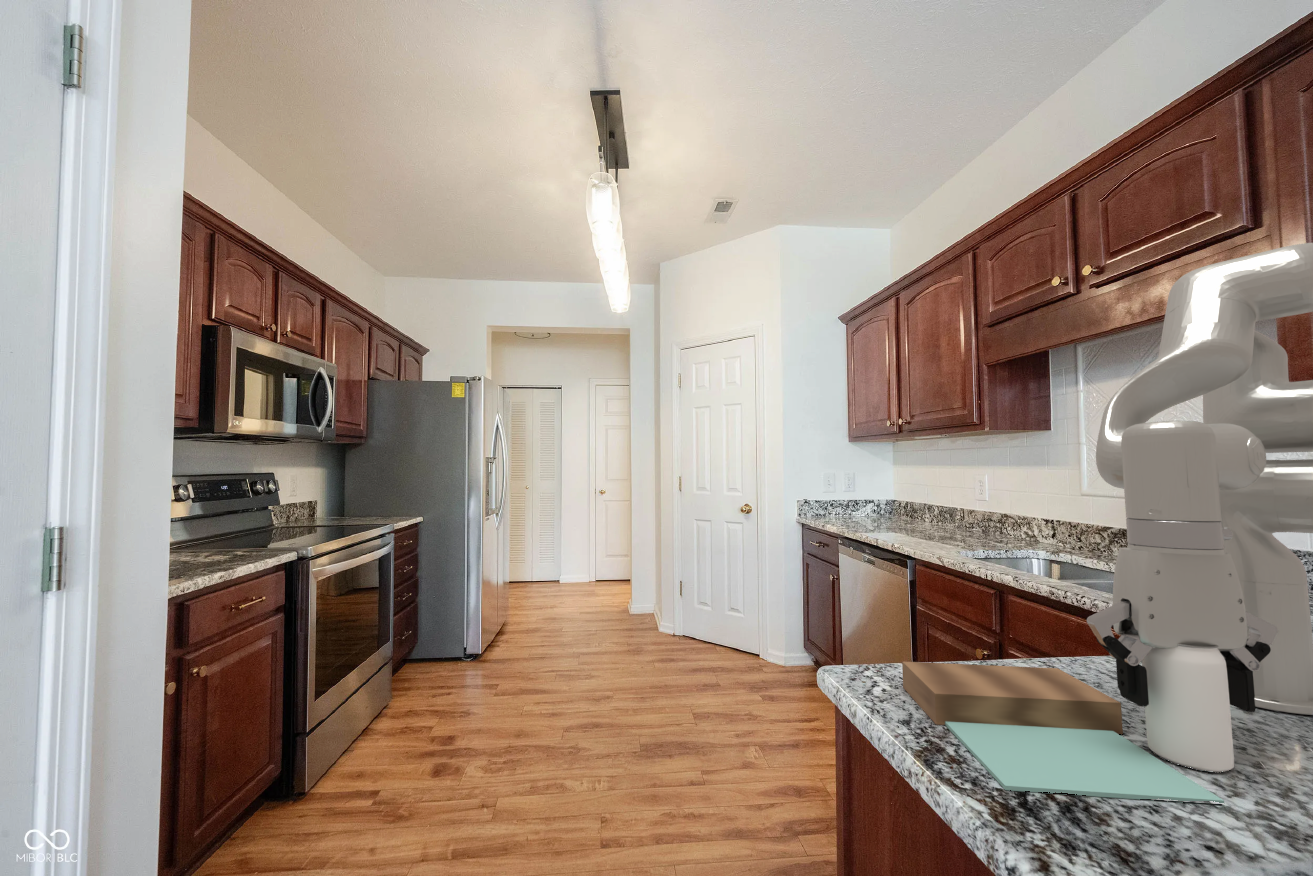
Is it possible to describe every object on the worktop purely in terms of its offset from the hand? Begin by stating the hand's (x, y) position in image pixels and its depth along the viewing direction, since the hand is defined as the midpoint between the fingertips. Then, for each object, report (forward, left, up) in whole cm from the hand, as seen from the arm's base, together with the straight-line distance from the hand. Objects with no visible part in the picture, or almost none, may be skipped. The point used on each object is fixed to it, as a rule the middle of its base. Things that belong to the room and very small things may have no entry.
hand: (1185, 704), depth 57 cm
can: (0, 0, -6) cm, 6 cm away
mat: (+13, +2, -5) cm, 14 cm away
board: (+13, -11, -5) cm, 18 cm away
